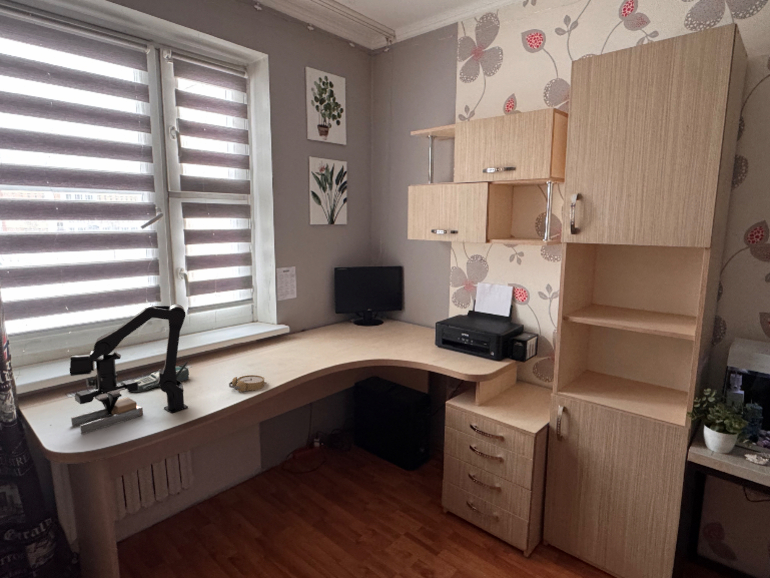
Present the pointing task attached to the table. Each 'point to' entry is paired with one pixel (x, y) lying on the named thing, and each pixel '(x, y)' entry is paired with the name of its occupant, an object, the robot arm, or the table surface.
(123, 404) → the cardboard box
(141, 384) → the communication device
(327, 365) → the table surface
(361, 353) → the table surface
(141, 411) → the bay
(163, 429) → the table surface
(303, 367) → the table surface
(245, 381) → the alarm clock
